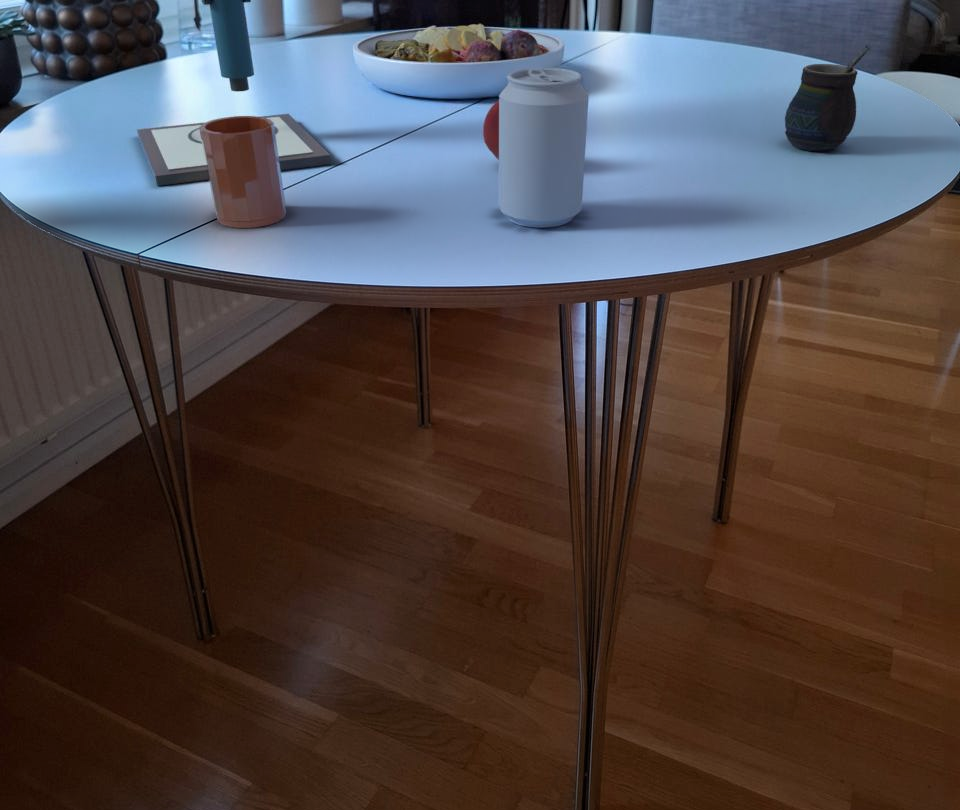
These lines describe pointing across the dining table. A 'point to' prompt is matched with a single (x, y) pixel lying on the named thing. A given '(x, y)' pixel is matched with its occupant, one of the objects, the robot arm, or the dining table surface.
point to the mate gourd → (823, 106)
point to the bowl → (453, 59)
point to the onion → (492, 129)
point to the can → (542, 146)
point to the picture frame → (182, 153)
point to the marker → (232, 42)
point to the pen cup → (243, 171)
